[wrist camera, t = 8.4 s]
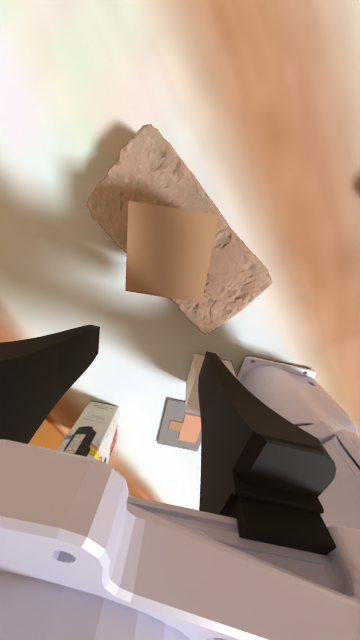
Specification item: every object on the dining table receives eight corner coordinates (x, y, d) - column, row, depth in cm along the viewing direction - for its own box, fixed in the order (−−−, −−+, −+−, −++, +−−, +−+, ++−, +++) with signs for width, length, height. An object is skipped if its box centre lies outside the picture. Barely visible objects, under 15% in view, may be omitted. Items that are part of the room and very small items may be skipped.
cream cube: (230, 360, 23) (240, 387, 19) (219, 389, 25) (226, 419, 21) (194, 353, 23) (195, 377, 19) (186, 382, 25) (185, 411, 21)
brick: (101, 215, 18) (73, 204, 14) (155, 142, 16) (142, 100, 12) (204, 322, 22) (207, 339, 18) (260, 276, 20) (280, 283, 15)
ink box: (116, 441, 31) (75, 547, 20) (89, 436, 31) (32, 539, 20) (119, 405, 28) (72, 507, 17) (89, 399, 27) (21, 497, 16)
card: (213, 407, 26) (213, 409, 26) (197, 449, 30) (197, 451, 30) (168, 397, 26) (167, 400, 26) (157, 441, 30) (157, 443, 30)
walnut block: (210, 227, 14) (219, 215, 9) (198, 288, 16) (201, 303, 11) (149, 217, 14) (128, 200, 9) (144, 279, 16) (125, 290, 11)
